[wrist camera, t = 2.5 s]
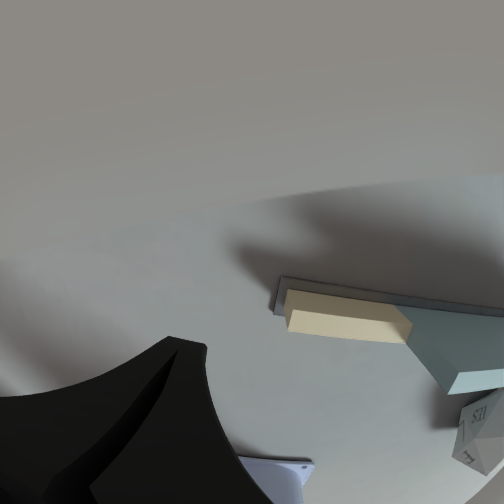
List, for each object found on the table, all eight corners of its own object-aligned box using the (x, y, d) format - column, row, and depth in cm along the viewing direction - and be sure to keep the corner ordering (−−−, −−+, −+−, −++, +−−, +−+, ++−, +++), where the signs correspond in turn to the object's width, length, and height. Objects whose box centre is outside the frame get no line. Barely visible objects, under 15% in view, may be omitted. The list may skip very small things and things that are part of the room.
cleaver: (283, 307, 17) (298, 394, 9) (287, 288, 17) (306, 368, 9) (522, 331, 17) (572, 368, 9) (526, 319, 17) (579, 355, 9)
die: (479, 362, 19) (468, 461, 12) (545, 369, 15) (544, 460, 8) (451, 403, 24) (432, 483, 17) (509, 409, 19) (499, 486, 13)
